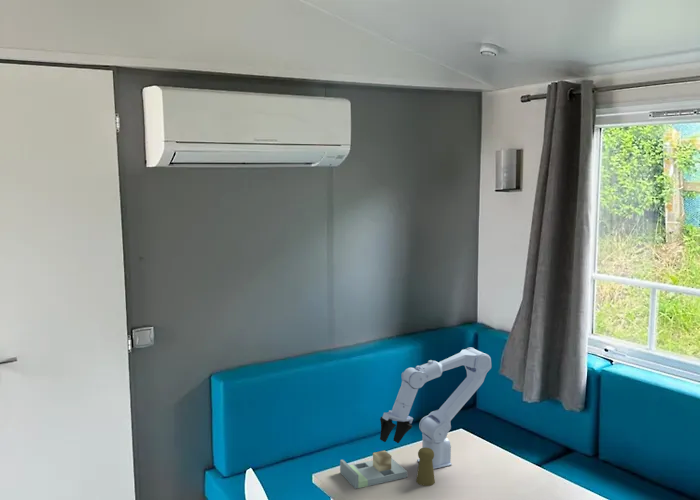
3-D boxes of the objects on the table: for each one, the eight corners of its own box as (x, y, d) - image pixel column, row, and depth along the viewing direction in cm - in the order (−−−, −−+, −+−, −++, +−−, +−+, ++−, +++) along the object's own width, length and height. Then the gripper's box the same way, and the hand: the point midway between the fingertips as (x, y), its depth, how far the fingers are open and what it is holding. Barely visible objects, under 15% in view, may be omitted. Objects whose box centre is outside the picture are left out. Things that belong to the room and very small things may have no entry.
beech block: (384, 463, 210) (385, 450, 209) (391, 469, 206) (391, 455, 205) (372, 465, 208) (372, 452, 208) (379, 471, 204) (379, 458, 203)
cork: (434, 486, 198) (434, 454, 197) (415, 484, 199) (415, 452, 198) (435, 478, 204) (436, 446, 203) (417, 476, 205) (417, 444, 204)
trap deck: (389, 462, 215) (390, 449, 215) (407, 477, 204) (407, 464, 204) (340, 472, 207) (340, 460, 207) (355, 488, 196) (355, 475, 196)
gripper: (407, 400, 216) (393, 437, 215) (382, 396, 205) (367, 434, 205) (422, 408, 211) (408, 446, 210) (397, 404, 200) (383, 444, 200)
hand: (389, 441), depth 207 cm, fingers open, 7 cm apart
